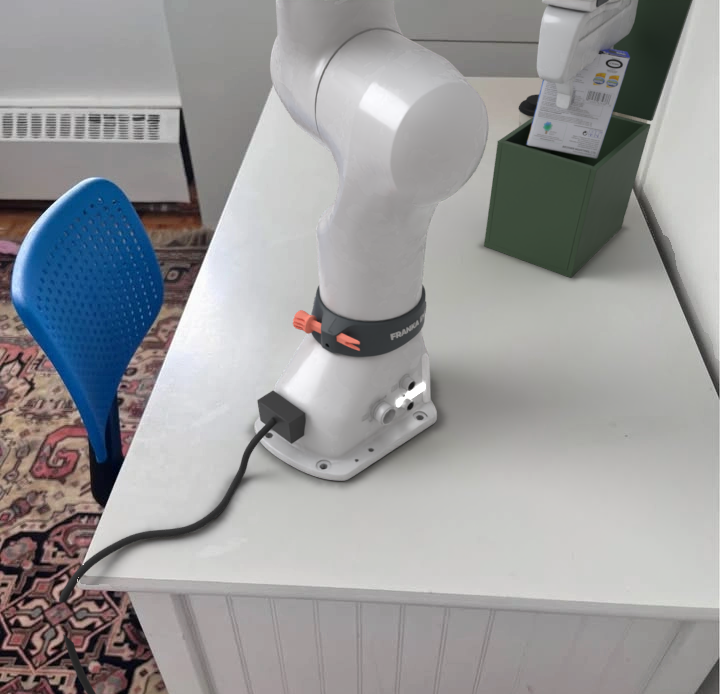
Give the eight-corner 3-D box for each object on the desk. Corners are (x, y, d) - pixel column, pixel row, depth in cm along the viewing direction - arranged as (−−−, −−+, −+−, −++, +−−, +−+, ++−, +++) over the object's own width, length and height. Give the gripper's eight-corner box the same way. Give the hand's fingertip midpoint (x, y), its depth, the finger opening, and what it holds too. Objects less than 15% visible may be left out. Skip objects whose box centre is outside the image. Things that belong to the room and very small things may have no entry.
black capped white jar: (503, 159, 129) (511, 101, 122) (524, 146, 133) (533, 88, 125) (537, 171, 126) (547, 111, 119) (557, 157, 130) (568, 98, 122)
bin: (570, 277, 104) (596, 170, 92) (483, 246, 110) (497, 141, 98) (621, 228, 113) (651, 124, 101) (538, 201, 119) (557, 100, 107)
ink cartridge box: (597, 150, 100) (636, 30, 91) (599, 161, 96) (639, 35, 86) (527, 137, 101) (558, 16, 92) (525, 146, 97) (558, 21, 87)
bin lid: (704, -40, 89) (706, -40, 89) (594, -57, 95) (597, -56, 95) (650, 121, 101) (652, 120, 101) (556, 97, 107) (559, 96, 107)
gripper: (614, -58, 90) (592, 62, 100) (535, -10, 80) (519, 117, 90) (663, -51, 87) (635, 71, 98) (587, -1, 77) (565, 129, 88)
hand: (579, 94), depth 94 cm, fingers closed on ink cartridge box, 7 cm apart
